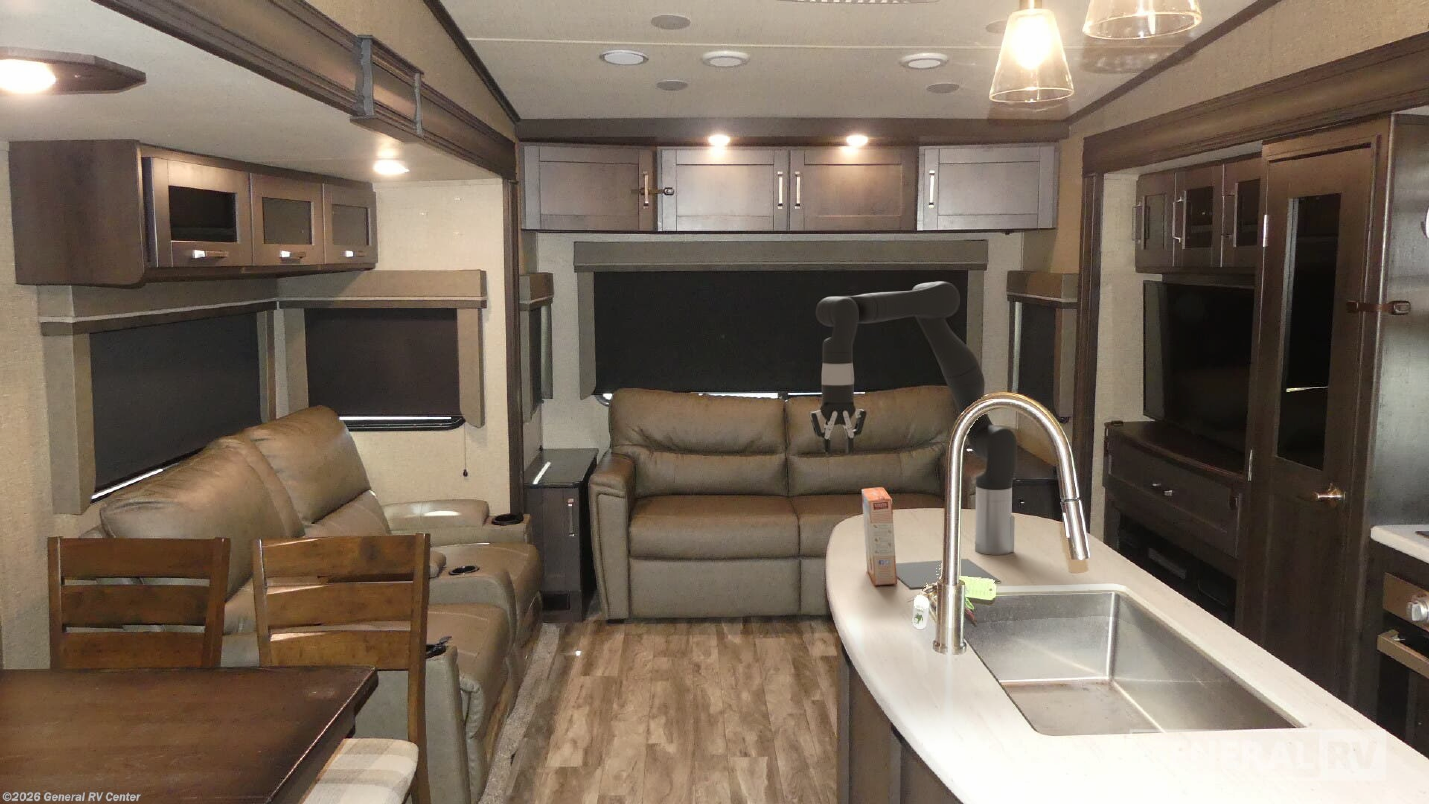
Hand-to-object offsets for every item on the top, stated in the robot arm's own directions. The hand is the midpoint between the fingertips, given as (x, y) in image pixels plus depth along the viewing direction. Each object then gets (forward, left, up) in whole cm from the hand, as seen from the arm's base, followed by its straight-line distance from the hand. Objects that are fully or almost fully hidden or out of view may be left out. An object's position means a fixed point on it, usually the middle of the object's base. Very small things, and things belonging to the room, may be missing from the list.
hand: (838, 453), depth 253 cm
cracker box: (-11, 0, -31) cm, 33 cm away
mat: (-26, 0, -31) cm, 41 cm away
